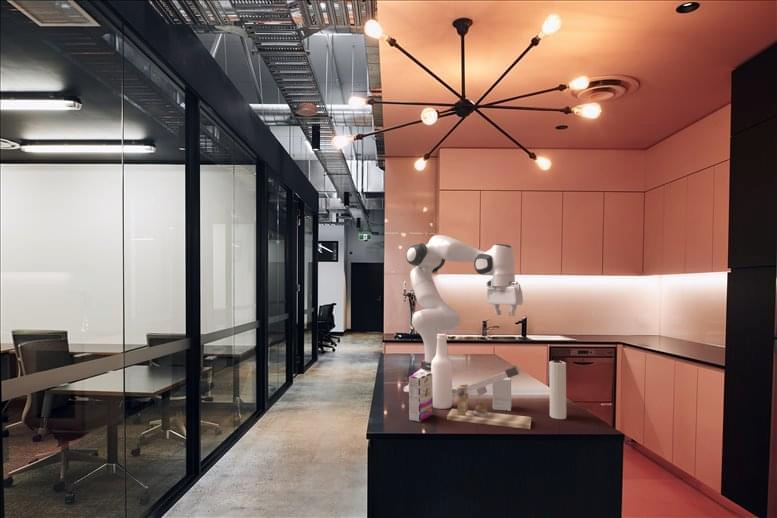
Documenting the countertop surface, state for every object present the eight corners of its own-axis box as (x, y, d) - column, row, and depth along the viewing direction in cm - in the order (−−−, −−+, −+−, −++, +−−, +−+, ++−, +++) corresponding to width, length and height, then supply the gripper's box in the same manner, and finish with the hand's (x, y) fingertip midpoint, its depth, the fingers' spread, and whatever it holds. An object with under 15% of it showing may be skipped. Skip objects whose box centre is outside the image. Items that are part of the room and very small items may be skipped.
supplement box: (511, 406, 189) (511, 376, 190) (510, 411, 182) (510, 379, 183) (493, 404, 192) (493, 374, 192) (492, 409, 185) (492, 378, 185)
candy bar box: (421, 412, 179) (422, 371, 180) (433, 415, 176) (433, 372, 177) (407, 420, 169) (408, 376, 170) (419, 422, 167) (419, 377, 167)
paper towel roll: (557, 420, 171) (557, 363, 172) (546, 416, 176) (545, 360, 177) (572, 418, 173) (571, 362, 174) (560, 414, 179) (559, 359, 180)
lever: (462, 402, 172) (456, 389, 173) (463, 399, 175) (458, 387, 176) (521, 380, 165) (515, 367, 166) (521, 378, 169) (515, 365, 169)
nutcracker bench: (447, 419, 170) (447, 387, 171) (452, 412, 180) (452, 382, 180) (530, 429, 160) (530, 395, 161) (531, 421, 170) (531, 388, 170)
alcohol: (454, 409, 185) (455, 335, 186) (434, 409, 183) (434, 335, 185) (448, 403, 193) (448, 332, 195) (428, 403, 192) (429, 333, 193)
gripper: (526, 281, 180) (527, 316, 179) (496, 282, 199) (497, 314, 198) (513, 281, 177) (514, 317, 176) (484, 282, 197) (485, 314, 195)
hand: (505, 315), depth 187 cm, fingers open, 8 cm apart
